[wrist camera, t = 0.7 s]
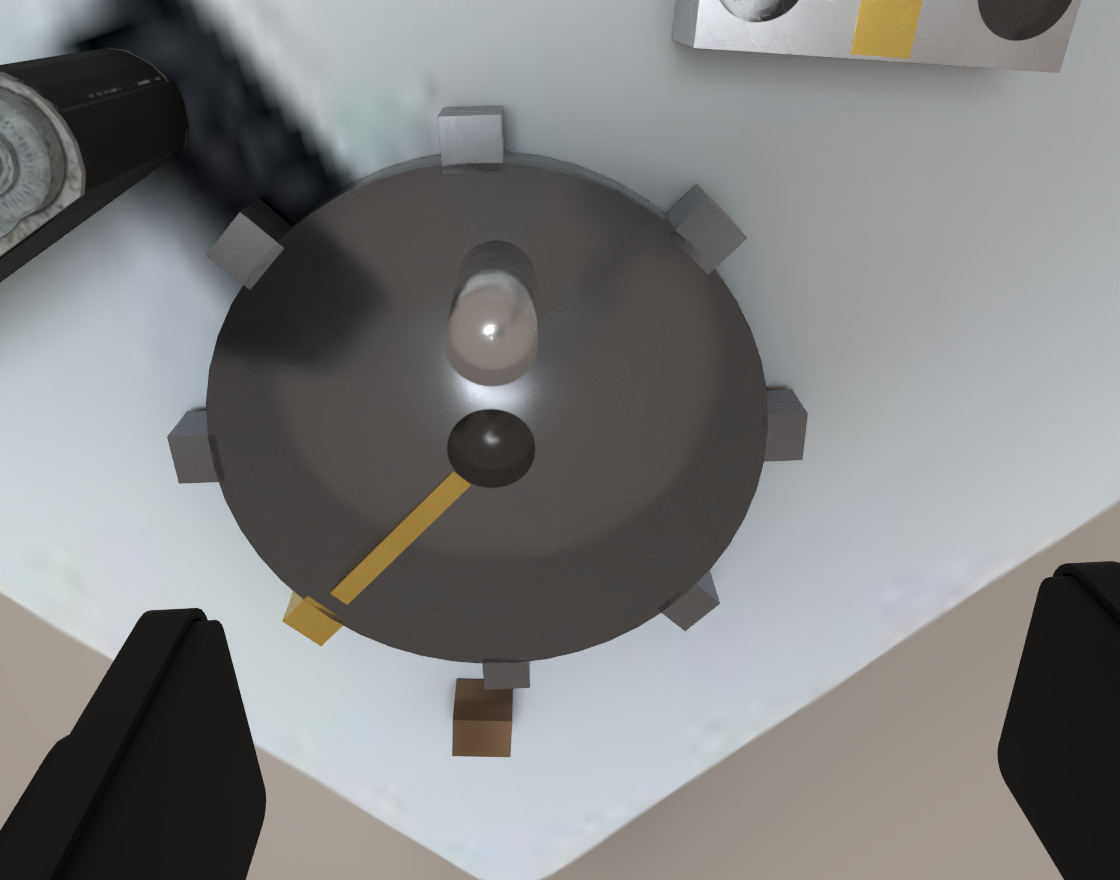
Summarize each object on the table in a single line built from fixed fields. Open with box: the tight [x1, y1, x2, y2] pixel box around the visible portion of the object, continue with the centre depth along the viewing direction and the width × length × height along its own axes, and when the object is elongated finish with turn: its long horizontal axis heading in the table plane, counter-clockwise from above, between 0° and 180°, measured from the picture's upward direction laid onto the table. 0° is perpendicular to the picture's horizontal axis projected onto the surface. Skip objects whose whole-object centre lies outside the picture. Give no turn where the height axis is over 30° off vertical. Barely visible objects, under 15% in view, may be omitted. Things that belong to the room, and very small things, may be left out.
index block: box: [452, 679, 513, 757], centre depth 38 cm, size 2×2×2 cm
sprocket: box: [167, 106, 808, 690], centre depth 29 cm, size 22×22×8 cm
